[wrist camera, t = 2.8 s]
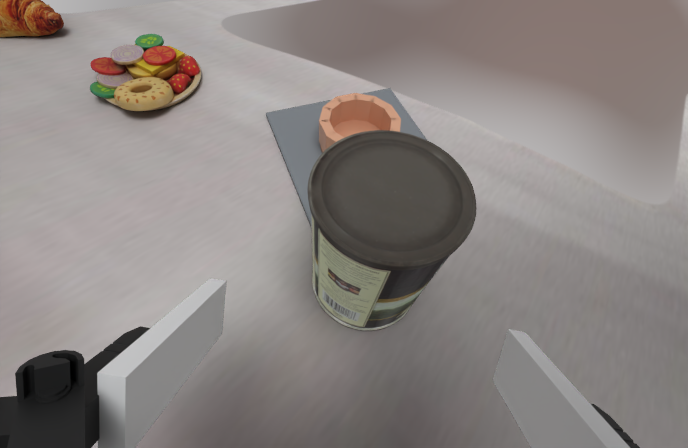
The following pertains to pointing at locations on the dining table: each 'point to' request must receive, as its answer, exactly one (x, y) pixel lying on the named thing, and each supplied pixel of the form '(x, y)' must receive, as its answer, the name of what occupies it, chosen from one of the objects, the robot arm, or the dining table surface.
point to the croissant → (28, 18)
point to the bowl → (355, 117)
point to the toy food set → (145, 75)
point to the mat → (317, 137)
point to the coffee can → (383, 223)
